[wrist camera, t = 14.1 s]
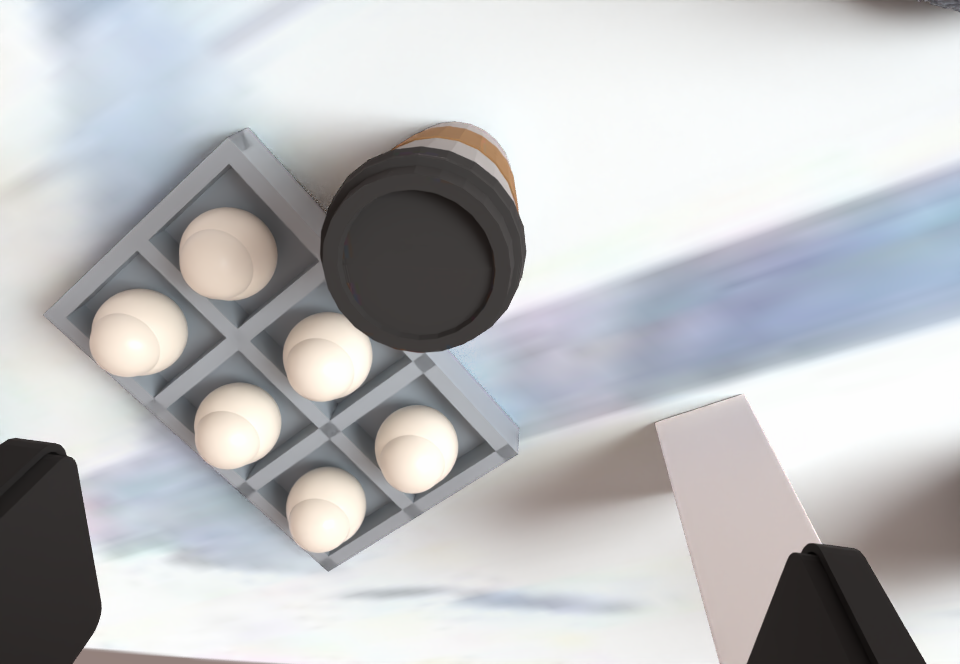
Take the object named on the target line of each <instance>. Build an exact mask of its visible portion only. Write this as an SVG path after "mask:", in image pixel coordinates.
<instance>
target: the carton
mask: <svg viewBox="0 0 960 664" xmlns="http://www.w3.org/2000/svg"><path fill="white" fill-rule="evenodd" d="M325 217H326V213H325V212H324V211H323V210H322V208H321V207H320V206H319V205H318V204H317V203H316V202H315V201H314V200H313V198H312V197H311V196H310V195H309V194H308V193H307V192H306V191H305V190H304V188H303V187H302V186H301V185H300V184H299V183H298V182H297V181H296V180H295V178H294V177H293V176H292V175H291V174H290V173H289V172H288V171H287V170H286V168H285V167H284V166H283V165H282V164H281V163H280V162H279V161H278V160H277V158H276V157H275V156H274V155H273V154H272V153H271V152H270V151H269V150H268V148H267V147H266V146H265V145H264V144H263V143H262V142H261V141H260V140H259V139H258V137H257V136H256V135H255V134H254V133H253V132H252V131H251V130H250V129H249V128H246V129H244V130H242V131H240V132H238V133H235V134H233V135H231V136H229V137H227V138H226V139H225V140H224V141H223V142H222V143H221V144H220V145H219V146H218V147H217V148H216V149H215V150H214V151H213V152H212V153H211V154H210V155H209V156H208V157H206V158H205V159H204V160H203V161H202V162H201V163H200V164H199V165H198V166H197V167H196V168H195V169H194V170H193V171H192V172H191V173H190V174H189V175H188V176H187V177H186V178H185V179H184V180H183V181H182V182H181V183H179V184H178V185H177V186H176V187H175V188H174V189H173V190H172V191H171V192H170V193H169V194H168V195H167V196H166V197H165V198H164V199H163V200H162V201H161V202H160V203H159V204H158V205H157V206H156V207H155V208H153V209H152V210H151V211H150V212H149V213H148V214H147V215H146V216H145V217H144V218H143V219H142V220H141V221H140V222H139V223H138V224H137V225H136V226H135V227H134V228H133V229H132V230H131V231H130V232H129V233H128V234H126V235H125V236H124V237H123V238H122V239H121V240H120V241H119V242H118V243H117V244H116V245H115V246H114V247H113V248H112V249H111V250H110V251H109V252H108V253H107V254H106V255H105V256H104V257H103V258H102V259H101V260H99V261H98V262H97V263H96V264H95V265H94V266H93V267H92V268H91V269H90V270H89V271H88V272H87V273H86V274H85V275H84V276H83V277H82V278H81V279H80V280H79V281H78V282H77V283H76V284H75V285H73V286H72V287H71V288H70V289H69V290H68V291H67V292H66V293H65V294H64V295H63V296H62V297H61V298H60V299H59V300H58V301H57V302H56V303H55V304H54V305H53V306H52V307H51V308H50V309H49V310H48V311H46V312H45V313H44V314H43V315H44V316H45V317H46V318H47V319H48V320H49V321H50V322H51V323H52V324H54V325H55V326H56V327H57V328H58V329H59V330H60V331H61V332H62V333H64V334H65V335H66V336H67V337H68V338H69V339H70V340H71V341H72V342H74V343H75V344H76V345H77V346H78V347H79V348H80V349H81V350H82V351H84V352H85V353H86V354H87V355H88V356H89V357H90V358H91V359H92V360H94V361H95V362H96V363H97V364H98V365H99V366H100V367H101V368H102V369H104V370H105V371H106V372H107V373H108V374H109V375H110V376H111V377H112V378H114V379H115V380H116V381H117V382H118V383H119V384H120V385H121V386H122V387H124V388H125V389H126V390H127V391H128V392H129V393H130V394H131V395H132V396H134V397H135V398H136V399H137V400H138V401H139V402H140V403H141V404H142V405H144V406H145V407H146V408H147V409H148V410H149V411H150V412H151V413H152V414H154V415H155V416H156V417H157V418H158V419H159V420H160V421H161V422H162V423H164V424H165V425H166V426H167V427H168V428H169V429H170V430H171V431H172V432H174V433H175V434H176V435H177V436H178V437H179V438H180V439H181V440H182V441H184V442H185V443H186V444H187V445H188V446H189V447H190V448H191V449H192V450H194V451H195V452H196V453H197V454H198V455H199V456H200V457H201V458H202V459H203V460H204V461H206V462H207V463H208V464H209V465H210V466H211V467H212V468H214V469H215V470H216V471H217V472H218V473H219V474H220V475H221V476H222V477H224V478H225V479H226V480H227V481H228V482H229V483H230V484H231V485H232V486H234V487H235V488H236V489H237V490H238V491H239V492H240V493H241V494H242V495H244V496H245V497H246V498H247V499H248V500H249V501H250V502H251V503H252V504H254V505H255V506H256V507H257V508H258V509H259V510H260V511H261V512H262V513H264V514H265V515H266V516H267V517H268V518H269V519H270V520H271V521H272V522H274V523H275V524H276V525H277V526H278V527H279V528H280V529H281V530H282V531H284V532H285V533H286V534H287V535H288V536H289V537H290V538H291V539H292V540H294V539H293V538H292V536H291V533H290V530H289V523H288V520H287V516H286V502H287V498H288V495H289V492H290V490H291V488H292V487H293V485H294V484H295V482H296V481H297V480H298V479H299V478H300V477H301V476H302V475H304V474H305V473H307V472H308V471H311V470H313V469H315V468H319V467H327V466H330V467H337V468H341V469H343V470H345V471H347V472H349V473H350V474H352V475H353V476H354V477H355V478H356V479H357V480H358V481H359V483H360V484H361V486H362V488H363V490H364V493H365V497H366V513H365V517H364V520H363V522H362V524H361V526H360V528H359V529H358V530H357V532H356V533H355V534H354V535H353V536H352V537H351V538H350V539H348V540H347V541H345V542H343V543H342V544H341V545H339V546H338V547H337V548H335V549H333V550H331V551H328V552H324V553H313V552H309V551H307V550H305V549H304V550H305V551H306V552H307V553H308V554H309V555H310V556H311V557H312V558H314V559H315V560H316V561H317V562H318V563H319V564H320V565H321V566H322V567H324V568H325V569H326V570H327V571H328V572H329V571H330V570H332V569H333V568H335V567H337V566H338V565H340V564H341V563H343V562H345V561H346V560H348V559H350V558H351V557H353V556H354V555H356V554H358V553H359V552H361V551H362V550H364V549H366V548H367V547H369V546H370V545H372V544H374V543H375V542H377V541H379V540H380V539H382V538H383V537H385V536H387V535H388V534H390V533H391V532H393V531H395V530H396V529H398V528H400V527H401V526H403V525H404V524H406V523H408V522H409V521H411V520H412V519H414V518H416V517H417V516H419V515H421V514H422V513H424V512H425V511H427V510H429V509H430V508H432V507H433V506H435V505H437V504H438V503H440V502H442V501H443V500H445V499H446V498H448V497H450V496H451V495H453V494H454V493H456V492H458V491H459V490H461V489H462V488H464V487H466V486H467V485H469V484H471V483H472V482H474V481H475V480H477V479H479V478H480V477H482V476H483V475H485V474H487V473H488V472H490V471H492V470H493V469H495V468H496V467H498V466H500V465H501V464H503V463H504V462H506V461H508V460H509V459H511V458H513V457H514V456H516V455H517V454H518V443H519V427H518V426H517V425H516V424H515V423H514V422H513V421H512V419H511V418H510V417H509V416H508V415H507V414H506V413H505V412H504V411H503V409H502V408H501V407H500V406H499V405H498V404H497V403H496V402H495V401H494V399H493V398H492V397H491V396H490V395H489V394H488V393H487V392H486V391H485V389H484V388H483V387H482V386H481V385H480V384H479V383H478V382H477V381H476V379H475V378H474V377H473V376H472V375H471V374H470V373H469V372H468V371H467V369H466V368H465V367H464V366H463V365H462V364H461V363H460V362H459V361H458V359H457V358H456V357H455V356H454V355H453V354H452V353H451V352H450V351H449V349H447V350H444V351H439V352H427V353H415V352H409V351H402V350H396V349H393V348H391V347H388V346H386V345H383V344H381V343H378V342H376V341H374V340H372V339H371V338H369V337H368V336H367V335H365V334H364V333H362V332H361V331H359V330H358V329H357V328H355V327H354V326H353V325H352V324H351V323H350V321H349V320H348V319H347V318H346V317H345V316H344V315H343V313H342V312H341V311H340V310H339V309H338V307H337V305H336V303H335V301H334V299H333V297H332V295H331V293H330V292H329V290H328V287H327V283H326V280H325V275H324V271H323V267H322V262H321V258H320V243H321V229H322V226H323V223H324V220H325ZM302 549H303V548H302Z"/></svg>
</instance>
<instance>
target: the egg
mask: <svg viewBox="0 0 960 664" xmlns="http://www.w3.org/2000/svg"><path fill="white" fill-rule="evenodd" d="M365 513H366V497H365V493H364V490H363V488H362V486H361V484H360V483H359V481H358V480H357V479H356V478H355V477H354V476H353V475H352V474H350V473H349V472H347V471H345V470H343V469H341V468H337V467H330V466H327V467H319V468H315V469H313V470H311V471H308V472H307V473H305V474H304V475H302V476H301V477H300V478H299V479H298V480H297V481H296V482H295V484H294V485H293V487H292V488H291V490H290V492H289V495H288V498H287V502H286V516H287V520H288V523H289V530H290V533H291V536H292V538H293V539H294V541H295V542H296V543H297V544H298V545H299V546H300V547H301V548H303V549H305V550H307V551H309V552H313V553H324V552H328V551H331V550H333V549H335V548H337V547H338V546H339V545H341V544H342V543H343V542H345V541H347V540H348V539H350V538H351V537H352V536H353V535H354V534H355V533H356V532H357V530H358V529H359V528H360V526H361V524H362V522H363V520H364V517H365Z"/></svg>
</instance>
